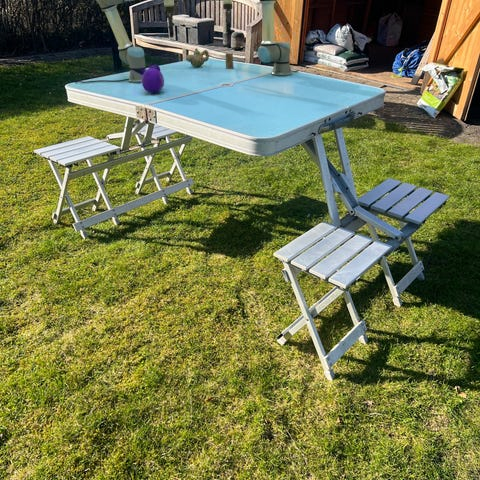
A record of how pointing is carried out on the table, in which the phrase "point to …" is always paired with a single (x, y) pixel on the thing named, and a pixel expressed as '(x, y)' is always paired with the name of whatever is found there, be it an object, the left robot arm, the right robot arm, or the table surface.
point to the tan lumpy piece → (197, 58)
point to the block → (229, 60)
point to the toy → (152, 79)
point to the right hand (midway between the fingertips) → (228, 32)
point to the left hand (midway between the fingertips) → (171, 36)
